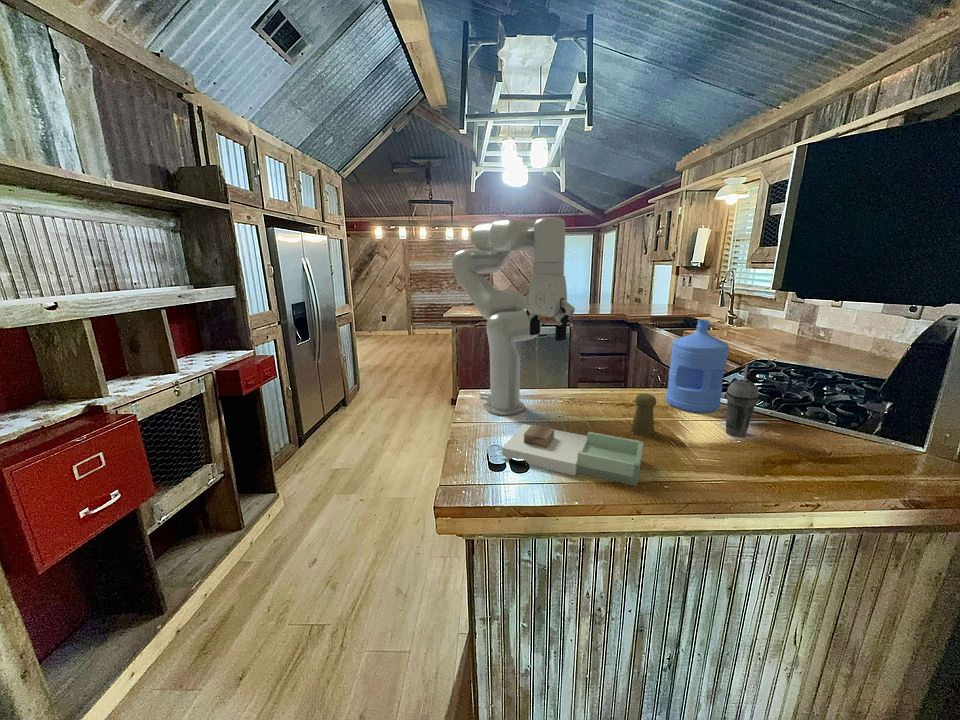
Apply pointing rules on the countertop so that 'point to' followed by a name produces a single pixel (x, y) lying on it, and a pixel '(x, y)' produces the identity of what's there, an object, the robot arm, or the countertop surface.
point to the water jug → (697, 371)
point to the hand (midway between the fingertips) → (547, 337)
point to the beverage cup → (740, 406)
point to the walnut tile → (539, 436)
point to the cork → (644, 415)
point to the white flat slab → (547, 451)
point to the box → (611, 458)
